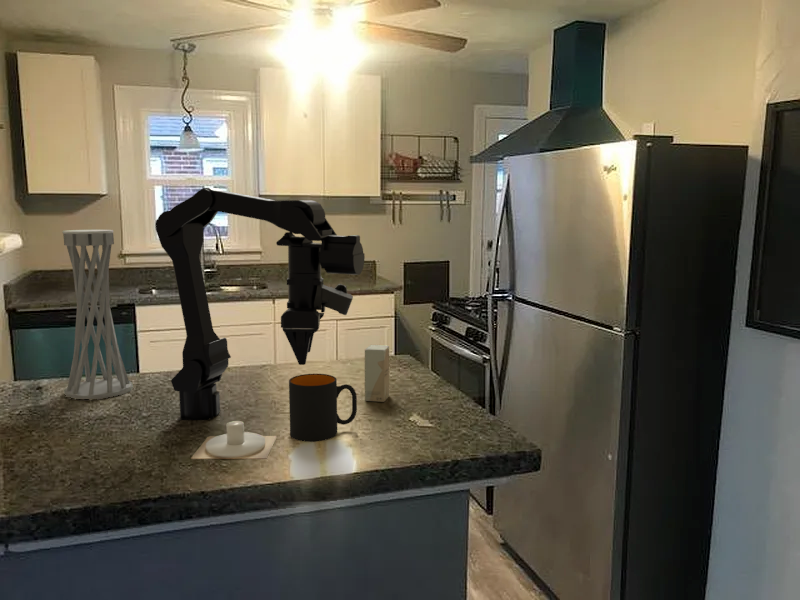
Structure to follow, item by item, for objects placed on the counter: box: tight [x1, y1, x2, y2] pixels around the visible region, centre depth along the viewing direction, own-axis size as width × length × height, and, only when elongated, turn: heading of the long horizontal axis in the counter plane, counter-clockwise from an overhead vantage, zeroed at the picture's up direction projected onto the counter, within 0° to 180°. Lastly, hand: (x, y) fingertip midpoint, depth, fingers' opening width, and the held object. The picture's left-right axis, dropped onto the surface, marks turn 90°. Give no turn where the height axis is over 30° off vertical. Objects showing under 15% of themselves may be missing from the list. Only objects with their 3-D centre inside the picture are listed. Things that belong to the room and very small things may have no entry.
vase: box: [62, 229, 133, 400], centre depth 140 cm, size 14×13×35 cm
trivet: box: [190, 435, 278, 460], centre depth 108 cm, size 12×10×1 cm
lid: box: [206, 420, 265, 458], centre depth 108 cm, size 10×10×4 cm
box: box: [364, 344, 390, 403], centre depth 137 cm, size 5×4×11 cm
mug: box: [288, 373, 358, 443], centre depth 115 cm, size 8×12×10 cm
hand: (304, 358), depth 117 cm, fingers open, 9 cm apart
